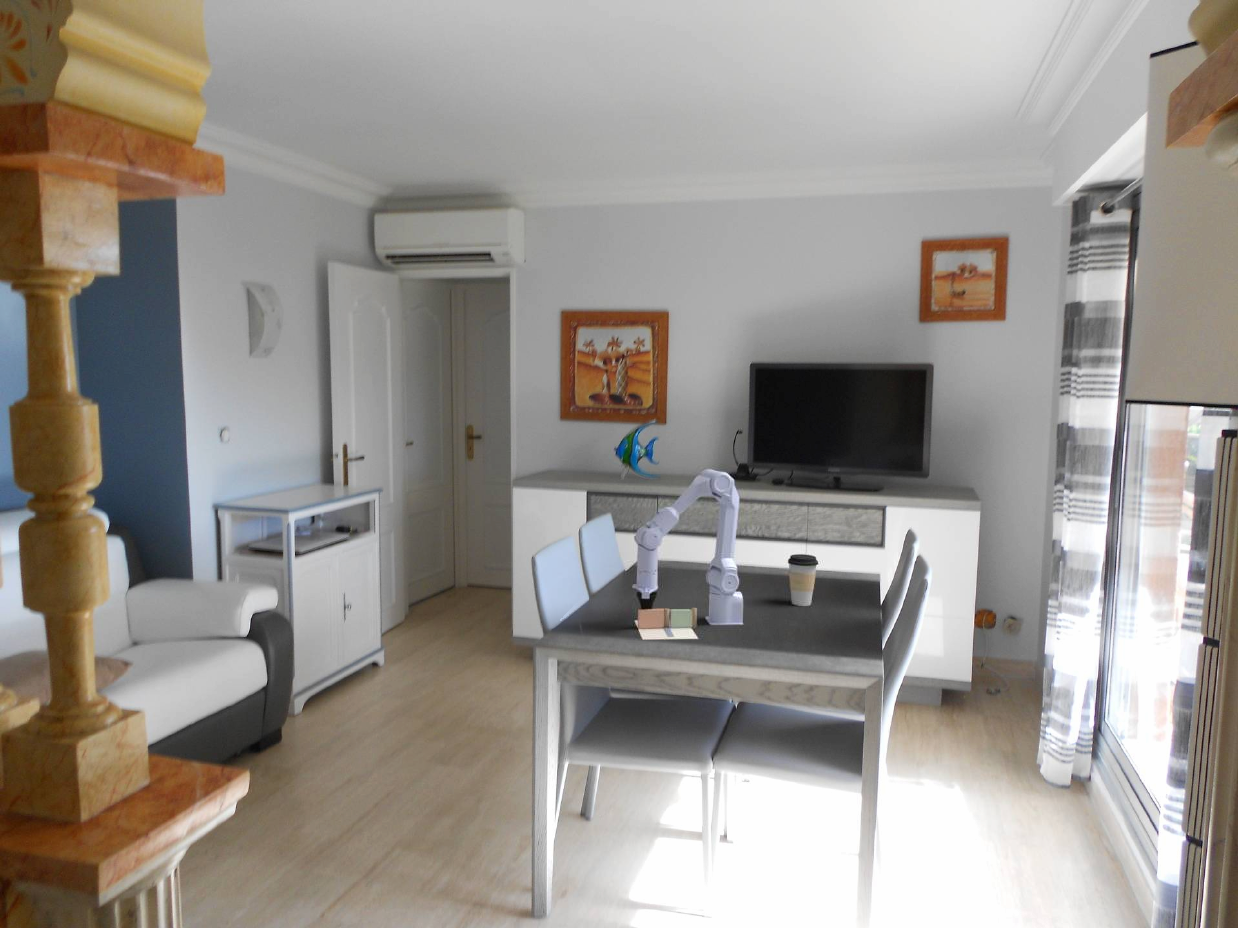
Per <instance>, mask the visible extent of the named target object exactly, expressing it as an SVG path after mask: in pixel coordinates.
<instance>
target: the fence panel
mask: <svg viewBox="0 0 1238 928" xmlns="http://www.w3.org/2000/svg"><path fill="white" fill-rule="evenodd" d="M637 620H638V628H659V627H669V622H670V608H668V607H665V608H652V609H641V608H640V609H637ZM638 628H637V629H638Z"/></svg>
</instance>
